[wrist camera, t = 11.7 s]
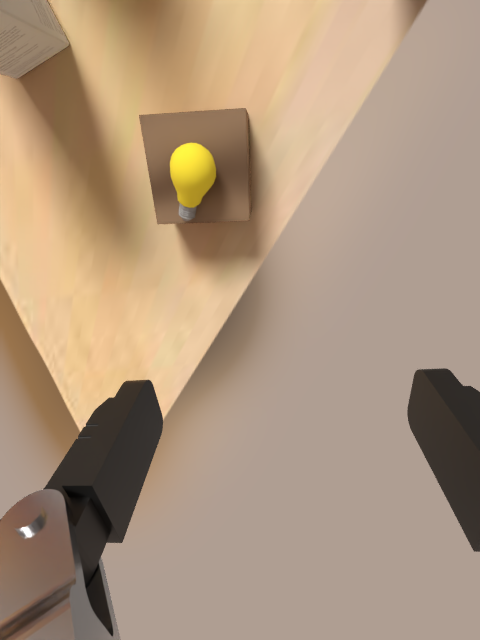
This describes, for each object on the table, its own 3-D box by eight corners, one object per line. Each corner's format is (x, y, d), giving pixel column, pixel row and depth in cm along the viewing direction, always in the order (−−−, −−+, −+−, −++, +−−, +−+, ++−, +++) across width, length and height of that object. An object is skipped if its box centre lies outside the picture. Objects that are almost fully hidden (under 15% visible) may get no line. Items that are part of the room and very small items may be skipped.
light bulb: (216, 139, 24) (222, 159, 22) (203, 211, 28) (208, 234, 26) (171, 130, 23) (173, 150, 21) (165, 205, 27) (165, 229, 25)
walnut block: (158, 120, 28) (139, 115, 24) (248, 114, 27) (245, 108, 23) (172, 213, 32) (157, 224, 27) (251, 210, 31) (249, 220, 27)
